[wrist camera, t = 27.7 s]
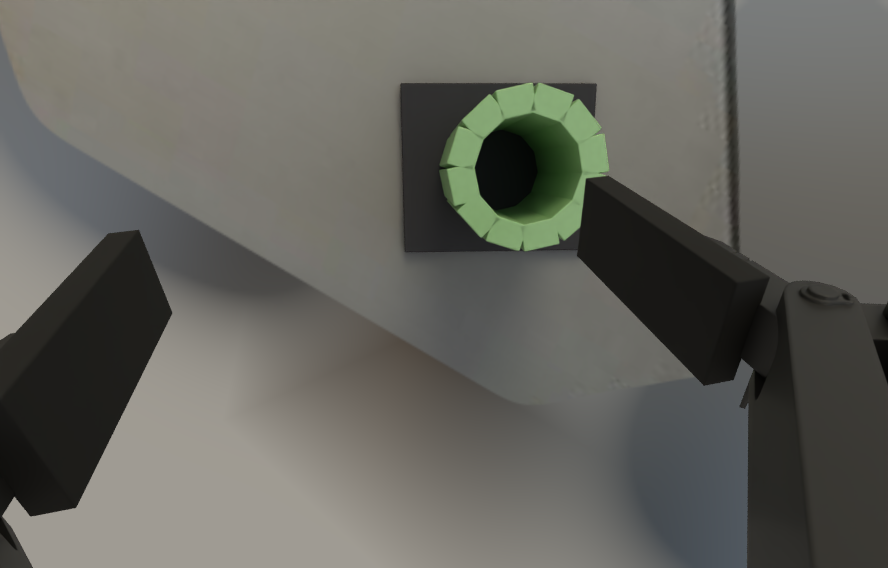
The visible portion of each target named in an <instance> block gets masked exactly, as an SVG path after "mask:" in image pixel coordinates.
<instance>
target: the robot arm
mask: <svg viewBox="0 0 888 568" xmlns="http://www.w3.org/2000/svg"><path fill="white" fill-rule="evenodd" d="M577 256H578V257H579V258H580V259H581V260H582V261H583V262H584V263H585V264H586V265H587V266H588V267H589V268H590V269H591V270H592V271H593V272H594V273H595V275H596V276H597V277H598V278H599V279H600V280H601V281H602V282H603V283H604V284H605V285H606V286H607V287H608V288H609V289H610V290H611V291H612V292H613V293H614V294H615V295H616V296H617V297H618V298H619V299H620V300H621V301H622V302H623V303H624V304H625V305H626V306H627V307H628V308H629V309H630V310H631V311H632V312H633V313H634V314H635V315H636V316H637V318H638V319H639V320H640V321H641V322H642V323H643V324H644V325H645V326H646V327H647V328H648V329H649V330H650V331H651V332H652V333H653V334H654V335H655V336H656V337H657V338H658V339H659V340H660V341H661V342H662V343H663V344H664V345H665V346H666V347H667V348H668V349H669V350H670V351H671V352H672V353H673V354H674V355H675V356H676V357H677V358H678V359H679V361H680V362H681V363H682V364H683V365H684V366H685V367H686V368H687V369H688V370H689V371H690V372H691V373H692V374H693V375H694V376H695V377H696V378H697V379H698V380H699V381H700V382H701V383H702V384H703V385H704V386H705V385H709V384H715V383H720V382H725V381H730V380H734V377H735V375H736V372H737V369H738V366H739V363H740V361H741V358H742V359H743V360H744V361H745V362H746V363H747V364H749V365H750V366H751V367H752V368H753V369H754V370H753V373H752V375H751V378H750V380H749V383H748V386H747V388H746V391H745V394H744V396H743V399H742V402H741V404H740V407H741V408H744V409H745V407H746V405H747V403H749V412H748V413H749V414H748V416H749V417H748V527H747V529H748V531H747V568H888V303H887V304H862V303H859V301H858V300H857V299H856V297H854V296H853V295H851V294H850V293H848V292H847V291H845V290H842V289H840V288H837V287H835V286H832V285H828V284H824V283H820V282H813V281H796V282H791V283H788V282H787V281H785V280H784V279H782V278H780V277H779V276H777V275H775V274H774V273H772V272H770V271H769V270H767V269H765V268H764V267H762V266H761V265H759V264H757V263H756V262H754V261H750V260H749V258H748V257H746V256H744V255H743V254H741V253H737V251H736V250H735V249H733V248H731V247H730V246H728V245H726V244H725V243H723V242H721V241H718V240H715V239H713V238H710V237H707V236H704V235H702V234H701V233H699V232H697V231H696V230H694V229H693V228H691V227H689V226H688V225H686V224H685V223H683V222H681V221H680V220H678V219H677V218H675V217H673V216H672V215H670V214H669V213H667V212H665V211H664V210H662V209H661V208H659V207H657V206H656V205H654V204H653V203H651V202H649V201H648V200H646V199H645V198H643V197H641V196H640V195H638V194H637V193H635V192H633V191H632V190H630V189H629V188H627V187H625V186H624V185H622V184H621V183H619V182H618V181H616V180H614V179H613V178H611V177H610V176H602V177H593V178H586V181H585V190H584V199H583V208H582V217H581V225H580V234H579V243H578V252H577ZM171 315H172V311H171V308H170V306H169V303H168V301H167V298H166V296H165V293H164V291H163V289H162V286H161V284H160V281H159V279H158V276H157V274H156V271H155V269H154V267H153V264H152V261H151V259H150V256H149V254H148V251H147V249H146V247H145V244H144V242H143V239H142V237H141V234H140V232H139V230H135V231H126V232H117V233H109V234H107V236H106V237H105V238H104V239H103V240H102V241H101V242H100V243H99V244H98V245H97V246H96V247H95V248H94V249H93V250H92V252H91V253H90V254H89V255H88V256H87V257H86V258H85V259H84V260H83V261H82V262H81V263H80V264H79V265H78V266H77V268H76V269H75V270H74V271H73V272H72V273H71V274H70V275H69V276H68V277H67V278H66V279H65V280H64V281H63V282H62V284H61V285H60V286H59V287H58V288H57V289H56V290H55V291H54V292H53V293H52V294H51V295H50V297H48V298H47V300H46V301H45V302H44V303H43V304H42V305H41V306H40V307H39V308H38V309H37V310H36V311H35V312H34V313H33V314H32V316H31V317H30V318H29V319H28V320H27V321H26V322H25V323H24V324H23V325H22V327H20V328H19V329H18V330H17V332H16V333H12V334H9V335H8V336H6V337H5V338H3V339H1V340H0V568H33V567H32V565H31V563H30V561H29V559H28V558H27V556H26V554H25V552H24V550H23V548H22V546H21V544H20V542H19V541H18V539H17V537H16V535H15V533H14V531H13V529H12V528H11V526H10V525H9V524H8V523H7V522H6V520H5V519H4V518H3V517H2V515H3V513H4V512H5V510H6V509H7V507H8V505H9V504H10V502H11V501H12V499H13V498H14V497H15V498H16V499H17V500H18V501H19V503H20V504H21V505H22V507H24V509H25V510H26V511H27V513H28V514H29V515H30V516H36V515H41V514H46V513H52V512H57V511H62V510H67V509H72V508H76V507H77V505H78V503H79V501H80V499H81V497H82V495H83V493H84V491H85V489H86V486H87V484H88V483H89V481H90V479H91V477H92V474H93V473H94V470H95V468H96V466H97V464H98V462H99V460H100V458H101V456H102V454H103V452H104V450H105V448H106V446H107V444H108V442H109V440H110V438H111V436H112V434H113V432H114V430H115V428H116V426H117V424H118V422H119V420H120V418H121V416H122V414H123V412H124V410H125V408H126V406H127V404H128V402H129V400H130V398H131V396H132V393H133V392H134V389H135V388H136V386H137V383H138V382H139V380H140V378H141V376H142V373H143V371H144V369H145V367H146V365H147V363H148V361H149V359H150V357H151V355H152V353H153V351H154V349H155V347H156V345H157V343H158V341H159V339H160V337H161V335H162V333H163V331H164V329H165V327H166V325H167V323H168V320H169V319H170V317H171Z"/></svg>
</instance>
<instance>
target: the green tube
mask: <svg viewBox="0 0 888 568" xmlns="http://www.w3.org/2000/svg"><path fill="white" fill-rule="evenodd" d="M573 97H574V95H573V94H570V93H567V92H564V91H562V90H559V89H556V88H553V87H550V86H547V85H545V84H542V83H538V84H536V85H535V86H534V87H533V83H527V84H522V85H518V86H513V87H509V88H505V89H500V90H496V91H495V92H494V93H493V94H492V95H490V94H489V95H488V96H487V97H486V98H484V99H483V100H482V101H481V102H480V103H479V104H478V105H477V106H476V107H475V108H474V109H473V110H472V111H471V112H470V113H469V114H468V115H467V116H466V117H464V118H463V119H462V121H461V122H460V123H459V124H458V125H457V127H456V128H455V129H454V130H453V132H452V133H451V134H450V137H449V138H448V139H447V141H446V145H445V148H444V151H443V155H442V158H441V161H440V164H439V165H440V166H441V167H444V168H445V169H441V170H439V173H440V177H441V182H442V187H443V191H444V196H445V197H446V198H447V199H448V200H447V202H448V203H449V204H450V205H451V206H452V207H453V208H454V209H455V211H456V212H457V213H458V214H459V215H460V216H461V217H462V218H463V219H464V221H465V222H466V223H467V224H468V225H469V226H470V227H471V228H472V229H473V230H474V231H475V232H476V233H477V235H478V236H479V237H480V238H481V237H483V238H484V239H485V240H486V241H487V242H490V243H493V244H497V245H500V246H503V247H506V248H510V249H513V250H516V251H519V250H520V248H521V249H522V250H524V251H525V252H526V251H530V250H534V249H539V248H543V247H548V246H552V245H556V244H559V238H560V239H562V240H566V239H567V238H568V237H570V236H571V235H572V234H573V233H574V232H575V231H576V230H577V229H579V228H580V225H581V217H582V208H583V199H584V190H585V181H586V178H593V177H602V176H605V175H602V174H599V173H603V172H608V171H609V165H608V158H607V150H606V143H605V135H604V134H599V135H595V134H596V133H597V132H598V131H599V130H601V126H600V125H599V124H598V122H597V121H596V120H595V119H594V117H593V116H592V115H591V113H590V112H589V111H588V110H587V108H586V107H585V106H584V105H583V103H582V102H581V101H580V100H579V99H578V100H575V101H573V102H572V100H573ZM497 130H505V131H508V132H511V133H513V134H516V135H519V136H522V138H523V139H524V140H525V141H526V142H527V144H528V145H529V146H530V147H531V148H532V150H533V151H534V153H535V159H536V165H537V171H538V173H537V176H536V179H535V182H534V185H533V188H532V191H531V193H530V194H529V195H527V196H526V197H525V198H524V199H523V200H522V201H521V202H520V203H519V204H518V205H516V206H514V207H509V208H505V209H500V210H493V209H492V208H491V207H490V206H489V205H488V204H487V203H486V202H485V200H484V199H483V198H482V197H481V196H480V192H479V187H478V182H477V177H476V172H475V165H476V162H477V159H478V155H479V152H480V149H481V146H482V143H483V140H484V139H485V138H486V137H487V136H488V135H489V134H490V133H491V132H493V131H497Z"/></svg>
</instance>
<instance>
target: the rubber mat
mask: <svg viewBox="0 0 888 568" xmlns="http://www.w3.org/2000/svg"><path fill="white" fill-rule="evenodd" d="M522 84H527V83H401V119H402V158H403V196H404V235H405V252H452V251H516V250H513V249H510V248H506V247H503V246H500V245H497V244H493V243H490V242H487V241H486V240H485V239H484V238H483V237H481V238H480V237H479V236H478V235H477V233H476V232H475V231H474V230H473V229H472V228H471V227H470V226H469V225H468V224H467V223H466V222H465V221H464V219H463V218H462V217H461V216H460V215H459V214H458V213H457V212H456V211H455V209H454V208H453V207H452V206H451V205H450V204H449V203H448V202H447V200H448V199H447V198H446V197H445V196H444V191H443V187H442V182H441V177H440V173H439V170H441V169H445V168H444V167H441V166H440V165H439V164H440V161H441V158H442V155H443V151H444V148H445V145H446V141H447V139H448V138H449V137H450V134H451V133H452V132H453V130H454V129H455V128H456V127H457V125H458V124H459V123H460V122H461V121H462V119H463V118H464V117H466V116H467V115H468V114H469V113H470V112H471V111H472V110H473V109H474V108H475V107H476V106H477V105H478V104H479V103H480V102H481V101H482V100H483V99H484V98H486V97H487V96H488V95H489V94H490V95H492V94H493V93H494V92H495V91H496V90H500V89H505V88H509V87H513V86H518V85H522ZM536 84H538V83H533V87H534V86H535V85H536ZM545 85H547V86H550V87H553V88H556V89H559V90H562V91H564V92H567V93H570V94H573V95H574V97H573V100H572V102H573V101H575V100H578V99H579V100H580V101H581V102H582V103H583V105H584V106H585V107H586V108H587V110H588V111H589V112H590V113H591V115H592V116H593V117H594V119H595V102H596V86H597V84H545ZM475 172H476V177H477V182H478V187H479V192H480V196H481V197H482V198H483V199H484V200H485V202H486V203H487V204H488V205H489V206H490V207H491V208H492V209H493V210H500V209H505V208H509V207H514V206H516V205H518V204H519V203H520V202H521V201H522V200H523V199H524V198H525V197H526V196H527V195H529V194H530V193H531V191H532V188H533V185H534V182H535V179H536V176H537V173H538V171H537V165H536V159H535V153H534V151H533V150H532V148H531V147H530V146H529V145H528V144H527V142H526V141H525V140H524V139H523V138H522V136H519V135H516V134H513V133H511V132H508V131H505V130H497V131H493V132H491V133H490V134H489V135H488V136H487V137H486V138H485V139H484V140H483V143H482V146H481V149H480V152H479V155H478V159H477V162H476V165H475ZM579 234H580V228H579V229H577V230H576V231H575V232H574V233H573V234H572V235H571V236H570V237H568V238H567V239H566V240H562V239H560V238H559V244H556V245H552V246H548V247H543V248H539V249H534V250H578V243H579ZM520 250H522V249H521V248H520Z"/></svg>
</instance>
